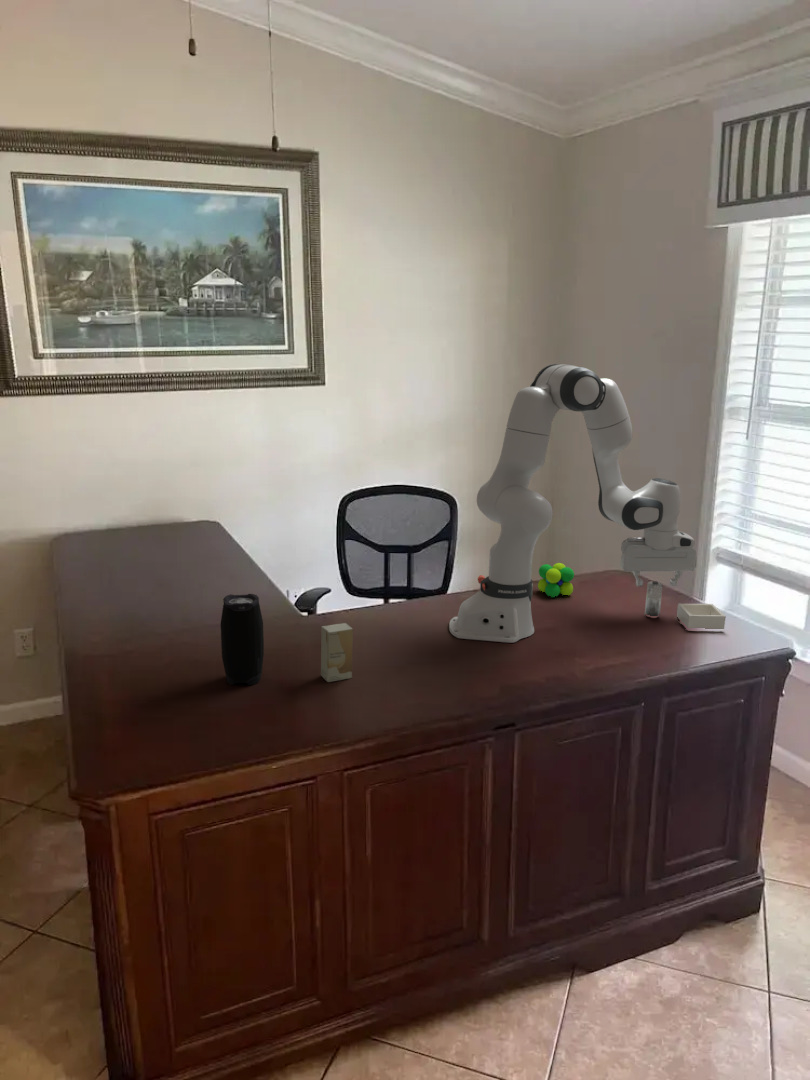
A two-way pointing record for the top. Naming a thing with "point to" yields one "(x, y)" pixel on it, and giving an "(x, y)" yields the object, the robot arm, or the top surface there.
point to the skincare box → (336, 652)
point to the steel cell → (653, 598)
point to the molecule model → (555, 579)
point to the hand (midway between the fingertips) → (656, 585)
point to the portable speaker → (242, 639)
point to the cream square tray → (701, 616)
